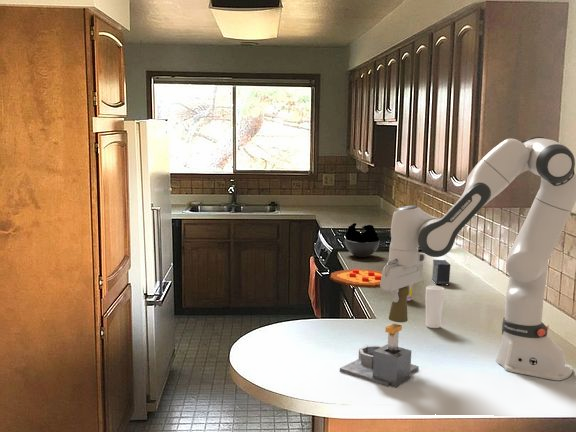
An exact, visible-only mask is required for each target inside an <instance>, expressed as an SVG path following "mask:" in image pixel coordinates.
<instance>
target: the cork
mask: <svg viewBox="0 0 576 432" xmlns="http://www.w3.org/2000/svg"><path fill="white" fill-rule="evenodd" d="M408 294H409V289H408V287H407V286H406V287H403V288H400V289H399V292H398V296H400V299H399V302H393V301H391V307H390V311H389V315H388V320H390V321H391V322H395V323H407V322H409V321H408V319H409V318H408V301H407V296H408Z"/></svg>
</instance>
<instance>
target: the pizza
mask: <svg viewBox="0 0 576 432" xmlns="http://www.w3.org/2000/svg"><path fill="white" fill-rule="evenodd" d="M381 276H382V271H380V270H374V269H361V268H360V269H359V268H352V269H349V268H348V269H343V270H338V271H335V270H334V272H331V273H330V281H333V282H335V283H339V284H342V285H345V286H352V287H353V288H354V287H357V288H358V287H361V288H381V287H380V284H381Z"/></svg>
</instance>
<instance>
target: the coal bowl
mask: <svg viewBox="0 0 576 432" xmlns="http://www.w3.org/2000/svg"><path fill="white" fill-rule="evenodd" d="M356 226H357V222H353V223H352V224H350V225H349V226H348V227H347V230H346V233H345V238H344V244H345V247H346V249H347V250H348V252H349V253H350V254H352V255H353V256H355V257H358V258H366V257H370V256H371V255H373V254H374V253H376V251H377V250H378V248H379V246H380V243H381V241H380V238H379V236H378V234H377V231H376V230H375V227H374V225H372V224H367V225H366V224H365V225H363V226H361V228H362V229H364V230H365V231H363V232H362V233H360V232H359V231H358V230H357V229H356Z"/></svg>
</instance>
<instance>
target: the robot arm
mask: <svg viewBox="0 0 576 432" xmlns="http://www.w3.org/2000/svg"><path fill="white" fill-rule="evenodd" d="M575 166H576V160H575V156H574V154H573V152H572V151H571V150H570V148H569V147H567V146H565V145H563V144H561V143H560V142H558V141H556V140H553V139H548V138H546V137H543V136H532V137H529V138H526V139H525V140H522V141H520V140H519V139H516V138H506V139H504V140H503V141H501V142H500V143H499V144H497V145H496V146H494V147H493V148H492V149H491V150H490V151H489V152H487V153H486V154H485V155H484V156H483V157H482V158H481V159H480V160H479V161H478V162H477V164H475V166H474V167H473V168H472V170H471V171H470V173H469V175H468V176H467V179H466V184H465V187H464V191H463V192H462V194H461V196H460V197H459V198H458V200H457V201H456V202H455V203H453V205H452V207H450V209H449V210H448V211H446V213H445V214H444V215H443V216H442V217H441V218H439V217H436V216H433V215H431V214H429V213H427V212H425V211H424V210H423V209H421V208H420V207H419V206H417V205H403V206H399V207H398V208H396V209H395V210H394V211H393V214H392V217H391V224H390V225H391V226H390V238H391V240H390V244H389V251H388V261H387V263H386V265H385V266H384V267H383V269H382V271H381V272H382V276H381V284H380V287H379V288H380V290H382V291H383V292H387V293H391V300H392V301H393V302H399V299H400V296H398V292H399V289H400V288H403V287H406V286H407V287H408V289H409V291H410V289H411V284H413V285H414V284H416V283H419V282H421V280H422V278H423V270H424V261H425V258H426V257H425V256H426V255H427V256H429V257H432V258H439V257H443V256H445V255H447V254H448V253H449V252H450V251H451V250H452V248H453V246H454V244H455V240H456V238H457V236H458V234H459V233H460V231H461V230H463V228H464V227H465V226H466V225H467V224H468V223H469V222H470V220H471V219H472V218H474V216H475V215H476V214H477V213H478V212H479V211H480V210H481V209H482V208H483V207H484V206H485V205H487V204H488V203H489V202H490V201H492V200H493V199H494V198H495V197H497V196H498V195H500V193H502V192H503V191H504V190H505V189H506V188H508V186H509V185H510V184H511V183H512V182H513V181H514V180H515V179H516V178H517V177H518V176H519V175H521V174H523V173H525V172H528V171H529V172H530V173H532V174H534V175H535V176H538V177H540V186H539V189H538V191H537V193H536V195H535V198H534V199H533V201H532V204H531V207H530V209H529V211H528V213H527V215H526V217H525V220H524V221H523V224H522V226H521V228H520V229H519V232H518V233H517V235H516V237H515V240H514V242H513V244H512V247H511V248H510V251H509V252H508V254H507V257H506V259H505V267H506V268H505V269H506V271H507V274H508V275H509V277H508V278H509V279H508V284H507V291H506V295H505V308H504V317H503V320H502V322H501V323H502V324H501V334H502V337H501V343H500V347H499V350H498V353H497V355H496V358H495V361H496V362H497V363H498V364H499V365H500V366H502V367H503V368H504V370H505V371H507V372H510V373H516V374H522V375H527V376H531V377H536V378H540V379H541V378H542V379H547V380H552V381H562V380H566V379H567V378H569V377H571V375H573V367H572V366H571V365H570V364H566V358H565V353H564V350H563V349H562V348H561V347H560V346H559V345H558V344H557V343H556V342H555V341H553V340H552V338H550V336H548V330H549V328H550V325H545V324H544V322H542V320H543V308H544V300H545V299H544V298H545V291H546V284H547V277H548V276H547V275H548V269H549V268H548V267H549V260H550V258H551V255H552V253H553V251H554V249H555V246H556V245H557V243H558V241H559V239H560V237H561V235H562V232H563V230H564V229H565V226H566V225H567V223H568V219H569V218H570V215H571V213H572V211H573V209H574V207H575V204H576V172H575ZM419 249H420V250H421V251H422V252H423V253H422V252H419ZM407 298H408V296H407ZM392 301H391V302H392Z"/></svg>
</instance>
